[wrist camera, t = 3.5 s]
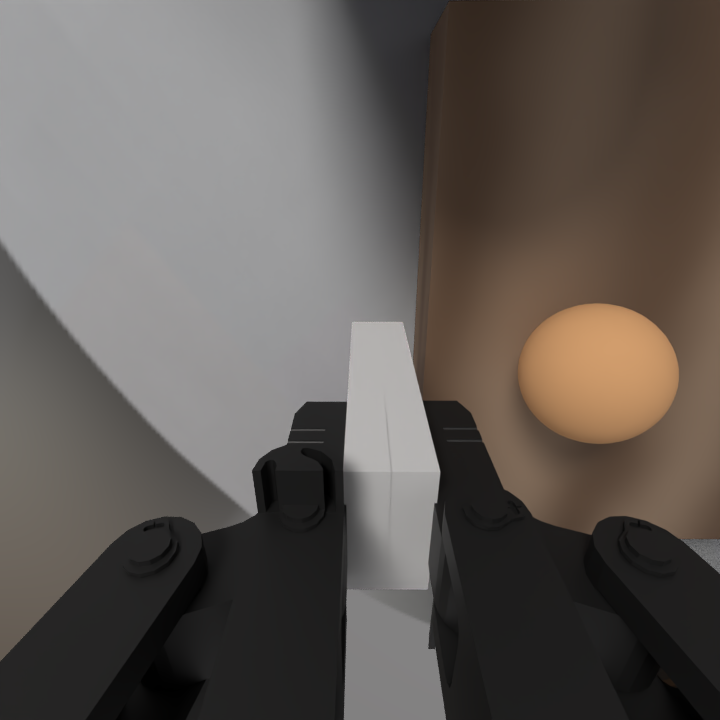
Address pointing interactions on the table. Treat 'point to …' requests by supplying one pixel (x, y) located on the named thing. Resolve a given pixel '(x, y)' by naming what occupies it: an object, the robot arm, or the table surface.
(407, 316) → the table surface
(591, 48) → the wooden board
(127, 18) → the table surface
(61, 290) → the table surface
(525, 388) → the ball
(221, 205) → the table surface
